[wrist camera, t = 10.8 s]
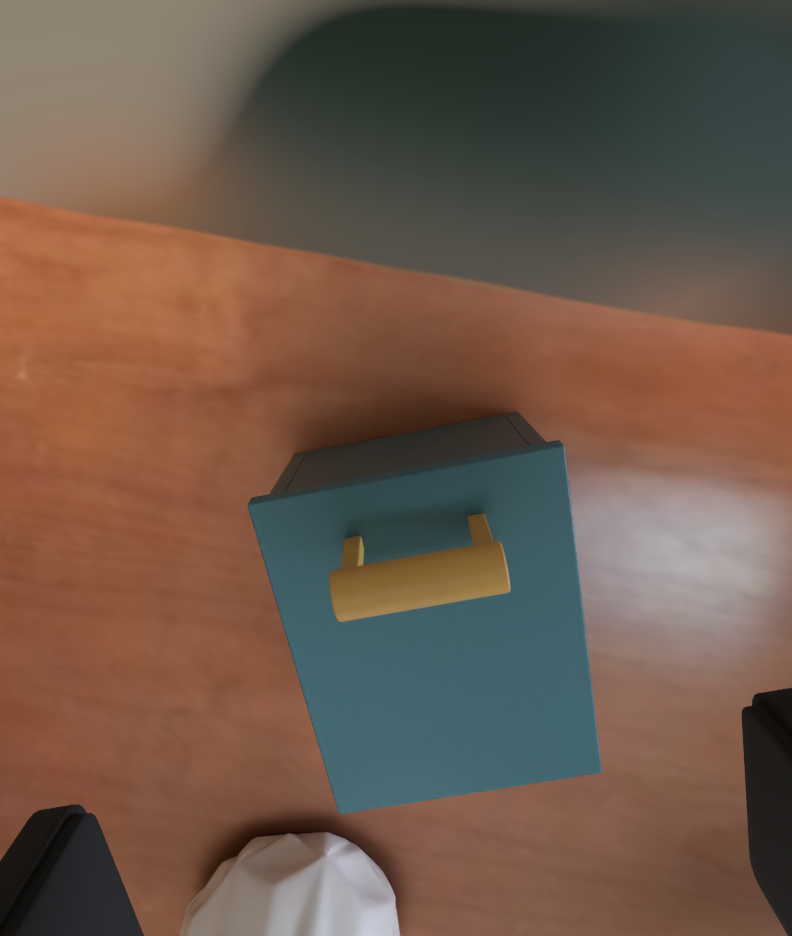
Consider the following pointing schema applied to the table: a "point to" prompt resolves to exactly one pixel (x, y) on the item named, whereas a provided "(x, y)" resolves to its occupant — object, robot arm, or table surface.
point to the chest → (407, 451)
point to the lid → (437, 625)
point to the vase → (295, 891)
